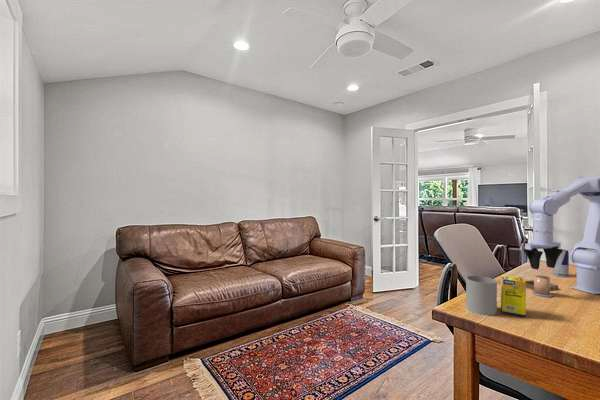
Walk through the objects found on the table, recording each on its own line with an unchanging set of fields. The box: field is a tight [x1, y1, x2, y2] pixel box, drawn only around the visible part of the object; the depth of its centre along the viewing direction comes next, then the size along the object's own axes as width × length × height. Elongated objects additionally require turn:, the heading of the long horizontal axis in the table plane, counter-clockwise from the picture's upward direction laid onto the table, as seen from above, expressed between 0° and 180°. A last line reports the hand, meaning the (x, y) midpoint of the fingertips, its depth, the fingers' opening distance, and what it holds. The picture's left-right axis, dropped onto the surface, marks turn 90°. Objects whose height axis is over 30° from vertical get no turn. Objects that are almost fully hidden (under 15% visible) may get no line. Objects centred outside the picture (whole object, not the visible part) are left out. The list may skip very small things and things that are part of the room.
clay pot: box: [533, 274, 551, 295], centre depth 106 cm, size 4×4×6 cm
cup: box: [465, 275, 498, 316], centre depth 92 cm, size 8×8×10 cm
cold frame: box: [525, 279, 559, 291], centre depth 114 cm, size 10×8×2 cm
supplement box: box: [500, 274, 527, 318], centre depth 90 cm, size 6×6×11 cm
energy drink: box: [552, 248, 570, 278], centre depth 130 cm, size 5×5×12 cm
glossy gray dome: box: [531, 290, 555, 298], centre depth 105 cm, size 6×6×1 cm
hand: (542, 268), depth 105 cm, fingers open, 7 cm apart
